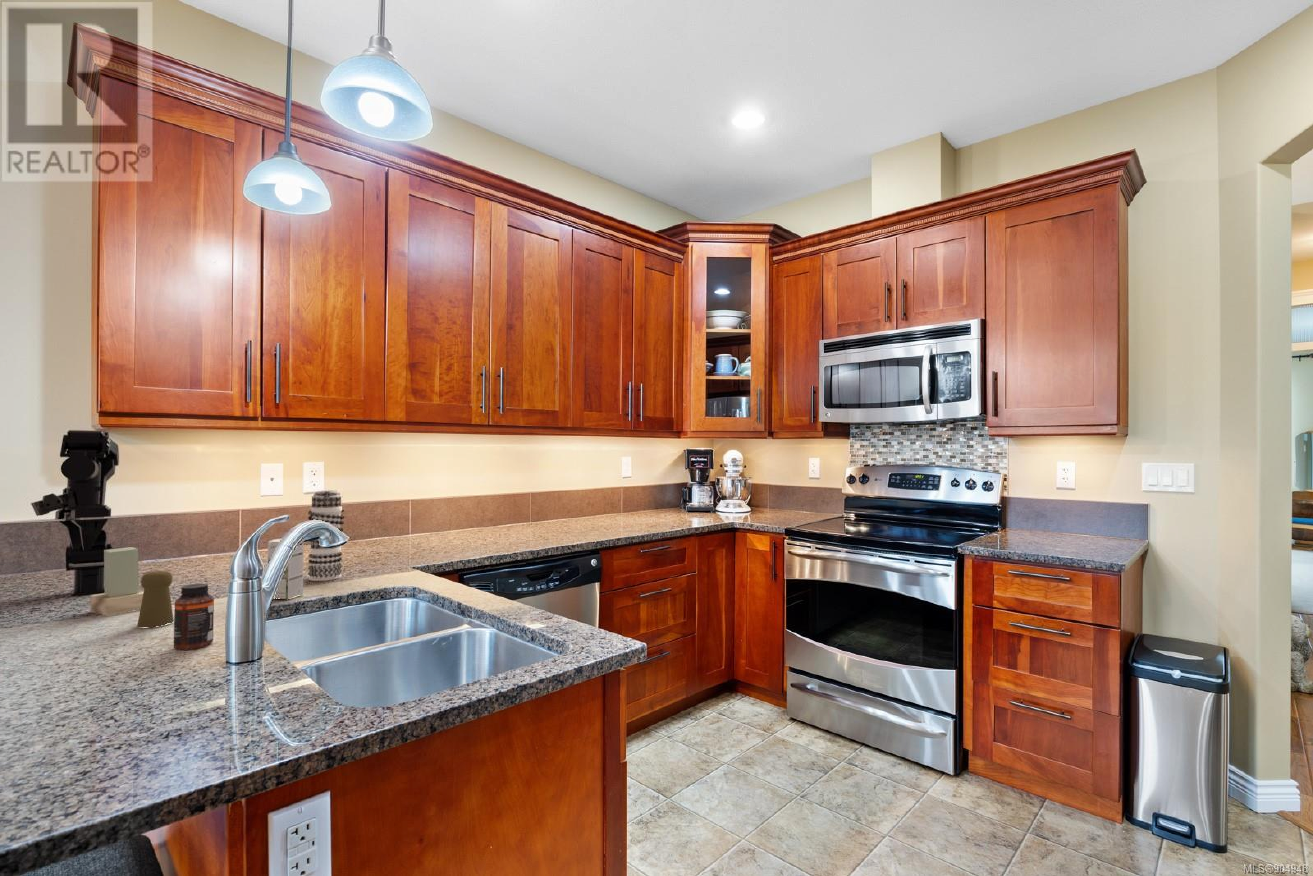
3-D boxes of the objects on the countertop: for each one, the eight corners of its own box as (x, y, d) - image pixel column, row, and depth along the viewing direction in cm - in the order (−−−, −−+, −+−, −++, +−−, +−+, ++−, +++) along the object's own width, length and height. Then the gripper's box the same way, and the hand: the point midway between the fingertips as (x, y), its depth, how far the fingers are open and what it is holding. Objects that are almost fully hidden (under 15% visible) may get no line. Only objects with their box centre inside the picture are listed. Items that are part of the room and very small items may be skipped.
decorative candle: (308, 576, 179) (309, 490, 180) (343, 573, 183) (345, 489, 183) (305, 582, 171) (306, 492, 171) (342, 579, 175) (344, 491, 175)
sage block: (104, 594, 140) (104, 550, 140) (132, 589, 144) (132, 546, 144) (109, 597, 136) (109, 552, 136) (138, 592, 140) (138, 549, 140)
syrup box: (303, 595, 155) (305, 537, 156) (287, 600, 150) (288, 541, 150) (282, 594, 156) (284, 537, 156) (265, 600, 150) (267, 540, 150)
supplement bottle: (220, 643, 116) (222, 583, 117) (187, 653, 111) (189, 590, 111) (198, 639, 118) (200, 581, 119) (165, 649, 113) (167, 587, 113)
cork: (180, 622, 130) (181, 570, 130) (146, 630, 125) (148, 575, 125) (164, 619, 133) (165, 568, 133) (130, 626, 127) (132, 572, 127)
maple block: (90, 613, 138) (90, 595, 138) (133, 605, 145) (133, 588, 145) (107, 618, 134) (107, 599, 134) (150, 609, 142) (151, 592, 142)
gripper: (27, 485, 144) (23, 552, 142) (46, 481, 133) (42, 553, 132) (90, 484, 153) (87, 548, 151) (112, 480, 142) (110, 548, 141)
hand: (81, 549), depth 144 cm, fingers open, 9 cm apart
